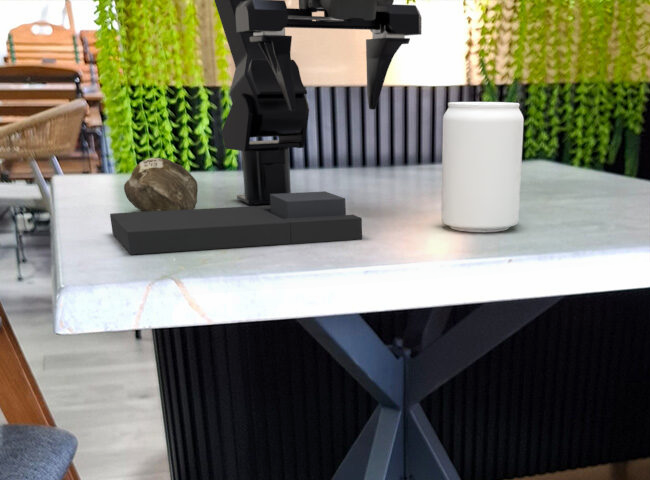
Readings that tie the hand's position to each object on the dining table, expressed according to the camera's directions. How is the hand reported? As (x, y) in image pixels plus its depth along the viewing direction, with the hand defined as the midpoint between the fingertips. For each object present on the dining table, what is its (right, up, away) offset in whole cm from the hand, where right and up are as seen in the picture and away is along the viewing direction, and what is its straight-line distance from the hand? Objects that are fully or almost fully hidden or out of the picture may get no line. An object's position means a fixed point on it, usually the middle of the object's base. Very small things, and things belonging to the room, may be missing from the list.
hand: (333, 109), depth 97 cm
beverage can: (+16, -14, -2) cm, 21 cm away
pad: (-2, -15, -6) cm, 16 cm away
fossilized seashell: (-20, -10, +5) cm, 23 cm away
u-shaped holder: (-9, -16, -9) cm, 20 cm away
